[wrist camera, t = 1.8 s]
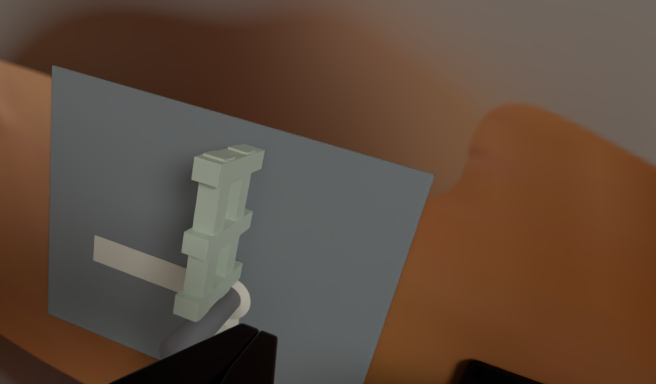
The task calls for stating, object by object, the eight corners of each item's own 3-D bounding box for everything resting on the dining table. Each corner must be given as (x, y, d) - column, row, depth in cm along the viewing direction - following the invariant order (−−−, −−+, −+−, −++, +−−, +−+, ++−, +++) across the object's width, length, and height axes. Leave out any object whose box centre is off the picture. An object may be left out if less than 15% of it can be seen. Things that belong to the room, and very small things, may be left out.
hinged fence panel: (239, 282, 21) (195, 327, 17) (220, 275, 21) (172, 318, 17) (265, 148, 19) (221, 162, 15) (243, 141, 19) (194, 153, 15)
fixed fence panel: (220, 280, 22) (161, 334, 17) (244, 289, 22) (191, 347, 17) (203, 375, 24) (146, 449, 19) (225, 384, 24) (173, 462, 19)
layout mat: (434, 174, 18) (434, 175, 17) (345, 434, 23) (344, 438, 22) (55, 65, 21) (51, 65, 21) (50, 311, 26) (47, 313, 26)
